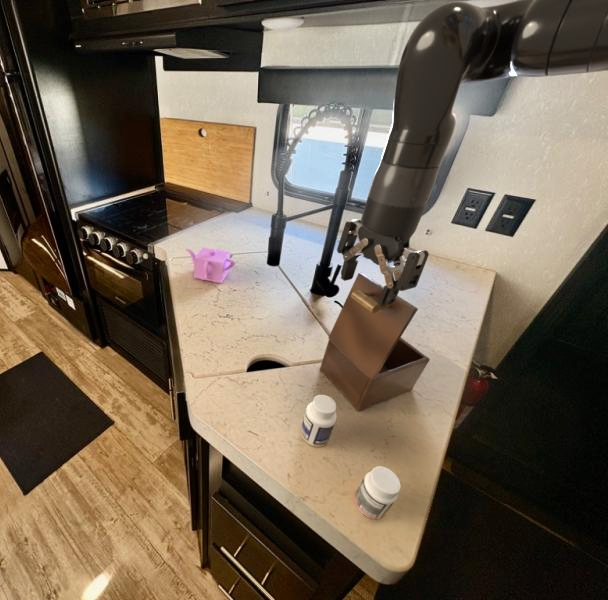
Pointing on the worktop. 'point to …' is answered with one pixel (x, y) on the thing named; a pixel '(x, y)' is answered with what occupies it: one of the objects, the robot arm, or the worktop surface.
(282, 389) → the worktop surface
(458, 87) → the robot arm
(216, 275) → the teapot
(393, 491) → the pill bottle
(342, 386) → the chest
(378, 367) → the lid
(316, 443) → the pill bottle
